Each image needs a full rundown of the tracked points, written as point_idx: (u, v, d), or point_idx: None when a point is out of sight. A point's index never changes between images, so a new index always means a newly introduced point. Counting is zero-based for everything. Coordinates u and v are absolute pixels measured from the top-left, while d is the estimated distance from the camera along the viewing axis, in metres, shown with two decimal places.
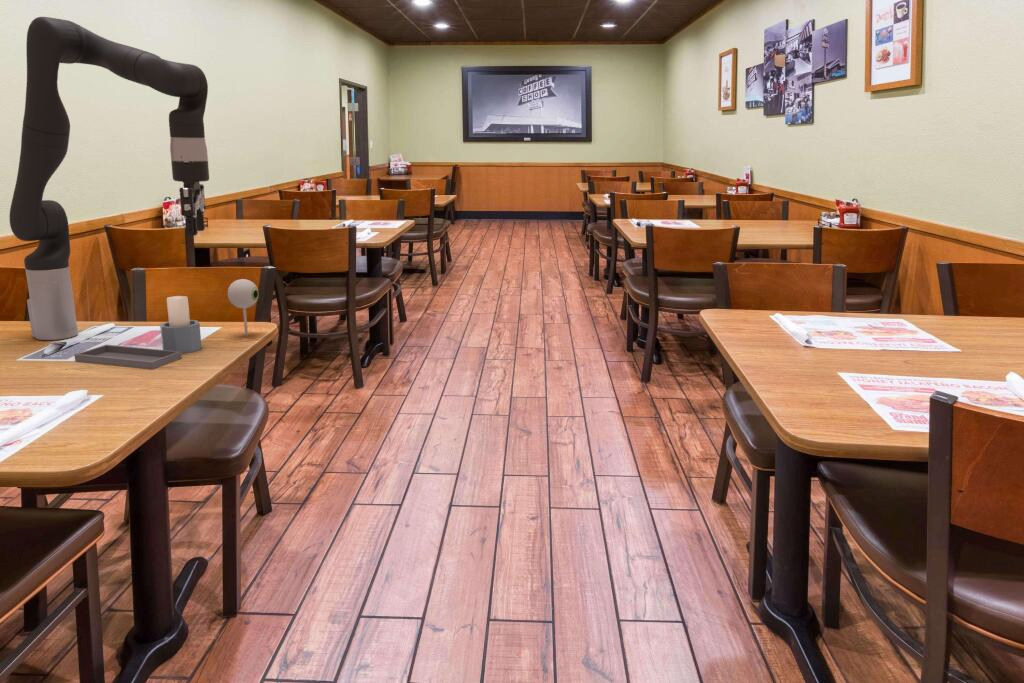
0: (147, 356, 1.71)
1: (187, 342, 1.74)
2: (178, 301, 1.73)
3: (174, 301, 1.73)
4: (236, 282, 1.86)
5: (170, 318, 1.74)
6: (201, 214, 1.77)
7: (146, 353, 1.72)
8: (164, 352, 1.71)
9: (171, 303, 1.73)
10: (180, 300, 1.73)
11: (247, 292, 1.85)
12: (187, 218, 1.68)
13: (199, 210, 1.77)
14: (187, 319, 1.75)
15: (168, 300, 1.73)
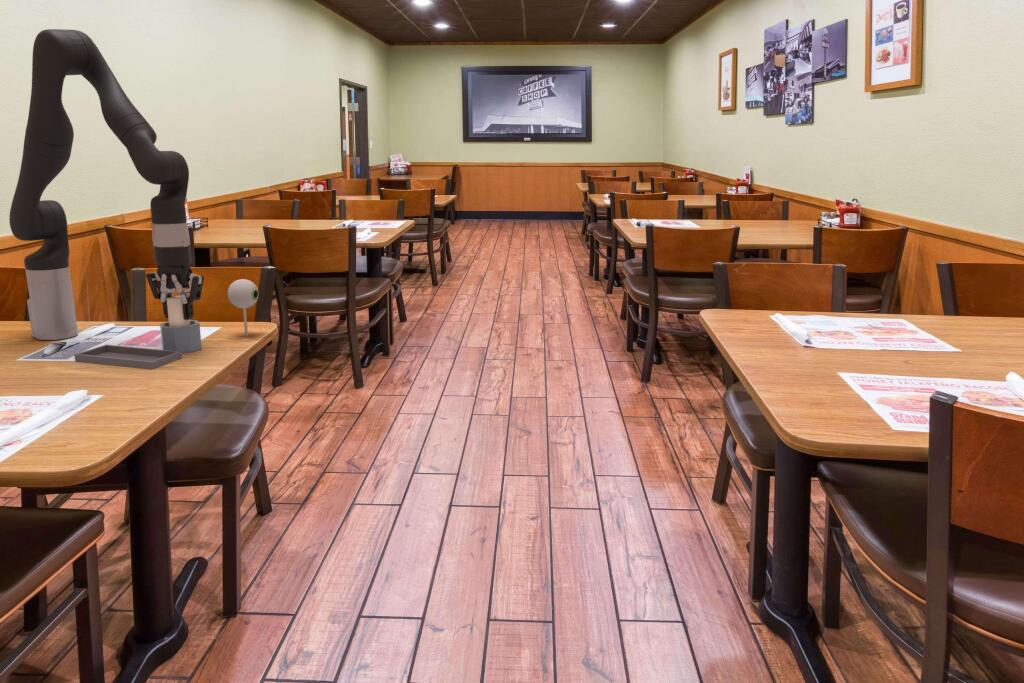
0: (147, 356, 1.71)
1: (187, 342, 1.74)
2: (178, 301, 1.73)
3: (174, 301, 1.73)
4: (236, 282, 1.86)
5: (170, 318, 1.74)
6: None
7: (146, 353, 1.72)
8: (164, 352, 1.71)
9: (171, 303, 1.73)
10: (180, 300, 1.73)
11: (247, 292, 1.85)
12: (189, 303, 1.74)
13: None
14: None
15: (168, 300, 1.73)
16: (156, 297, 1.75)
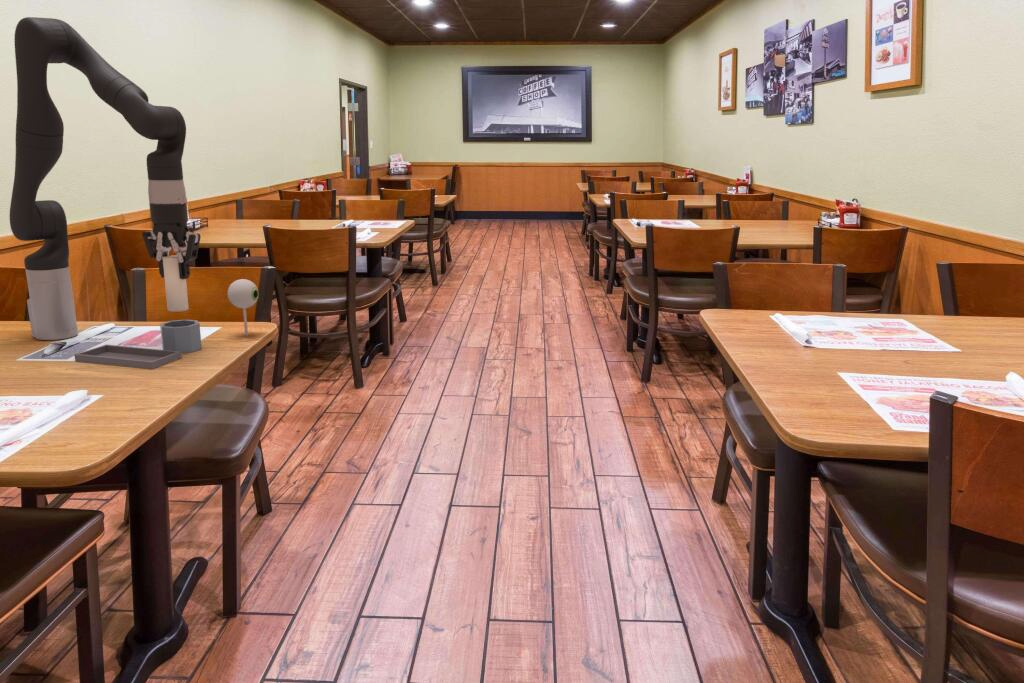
0: (147, 356, 1.71)
1: (187, 342, 1.74)
2: (174, 260, 1.71)
3: (170, 260, 1.71)
4: (236, 282, 1.86)
5: (166, 277, 1.72)
6: None
7: (146, 353, 1.72)
8: (164, 352, 1.71)
9: (167, 262, 1.71)
10: (176, 259, 1.71)
11: (247, 292, 1.85)
12: (186, 262, 1.71)
13: None
14: None
15: (164, 259, 1.71)
16: (152, 256, 1.73)
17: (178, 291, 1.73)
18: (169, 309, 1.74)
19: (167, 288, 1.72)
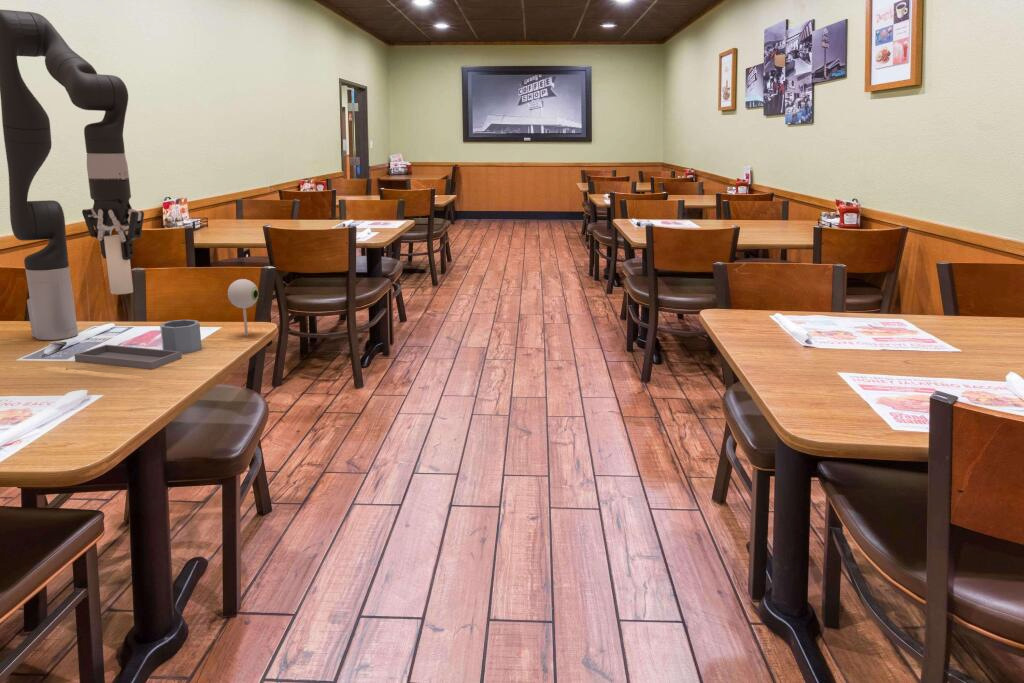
0: (147, 356, 1.71)
1: (187, 342, 1.74)
2: (116, 239, 1.61)
3: (111, 239, 1.60)
4: (236, 282, 1.86)
5: (108, 258, 1.62)
6: None
7: (146, 353, 1.72)
8: (164, 352, 1.71)
9: (108, 241, 1.60)
10: (118, 238, 1.61)
11: (247, 292, 1.85)
12: (128, 241, 1.61)
13: None
14: None
15: (105, 238, 1.61)
16: (93, 235, 1.62)
17: (121, 272, 1.62)
18: (112, 292, 1.63)
19: (109, 269, 1.62)
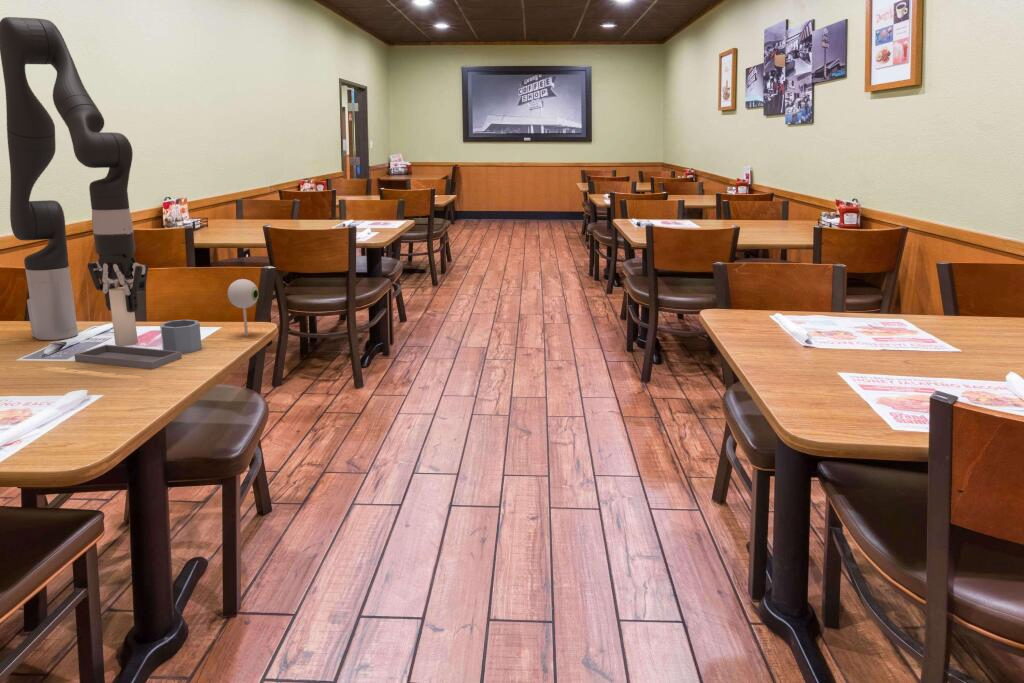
0: (147, 356, 1.71)
1: (187, 342, 1.74)
2: (121, 292, 1.63)
3: (116, 292, 1.63)
4: (236, 282, 1.86)
5: (112, 310, 1.64)
6: None
7: (146, 353, 1.72)
8: (164, 352, 1.71)
9: (113, 294, 1.63)
10: (123, 291, 1.63)
11: (247, 292, 1.85)
12: (133, 294, 1.64)
13: None
14: None
15: (110, 291, 1.63)
16: (98, 288, 1.65)
17: (126, 325, 1.65)
18: (116, 343, 1.66)
19: (114, 322, 1.65)
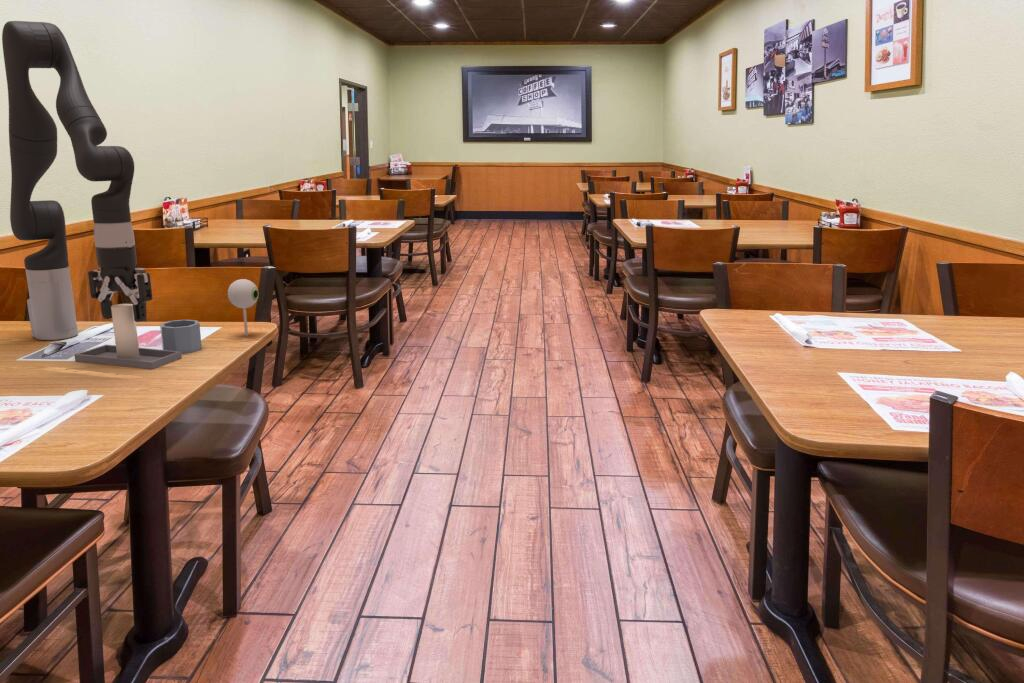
0: (147, 356, 1.71)
1: (187, 342, 1.74)
2: (123, 309, 1.64)
3: (119, 309, 1.64)
4: (236, 282, 1.86)
5: (115, 327, 1.65)
6: (109, 300, 1.67)
7: (146, 353, 1.72)
8: (164, 352, 1.71)
9: (115, 311, 1.64)
10: (125, 308, 1.64)
11: (247, 292, 1.85)
12: (140, 304, 1.64)
13: (107, 297, 1.67)
14: (133, 328, 1.66)
15: (112, 308, 1.64)
16: (93, 297, 1.66)
17: (128, 341, 1.66)
18: None
19: (116, 338, 1.66)
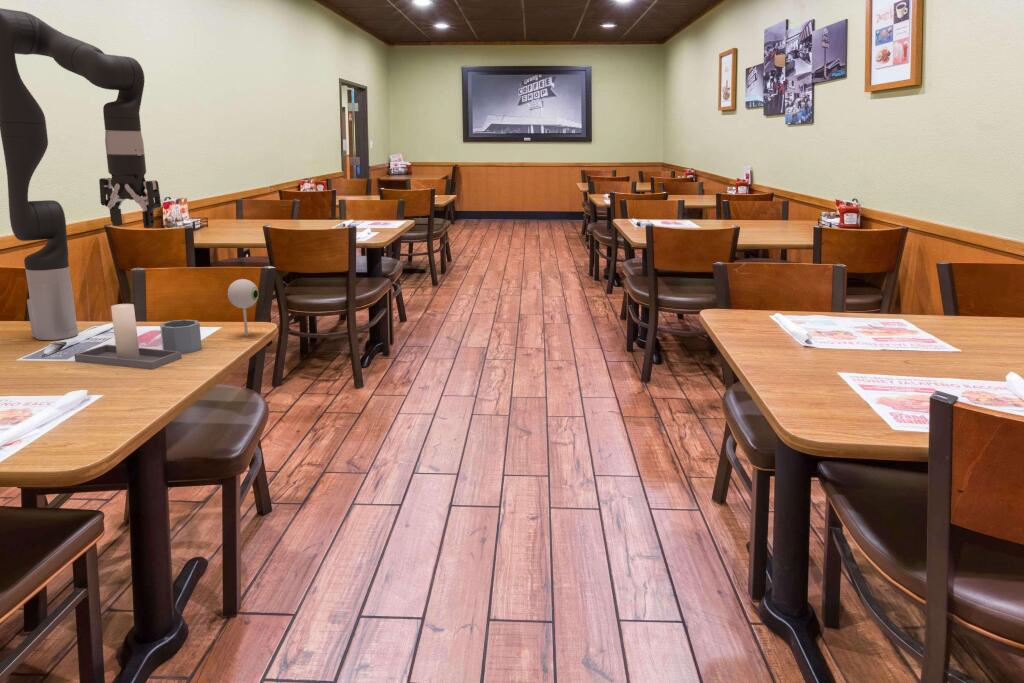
0: (147, 356, 1.71)
1: (187, 342, 1.74)
2: (123, 309, 1.64)
3: (119, 309, 1.64)
4: (236, 282, 1.86)
5: (115, 327, 1.65)
6: (118, 208, 1.74)
7: (146, 353, 1.72)
8: (164, 352, 1.71)
9: (115, 311, 1.64)
10: (125, 308, 1.64)
11: (247, 292, 1.85)
12: (150, 211, 1.70)
13: (116, 204, 1.73)
14: (133, 328, 1.66)
15: (112, 308, 1.64)
16: (103, 204, 1.72)
17: (128, 341, 1.66)
18: None
19: (116, 338, 1.66)
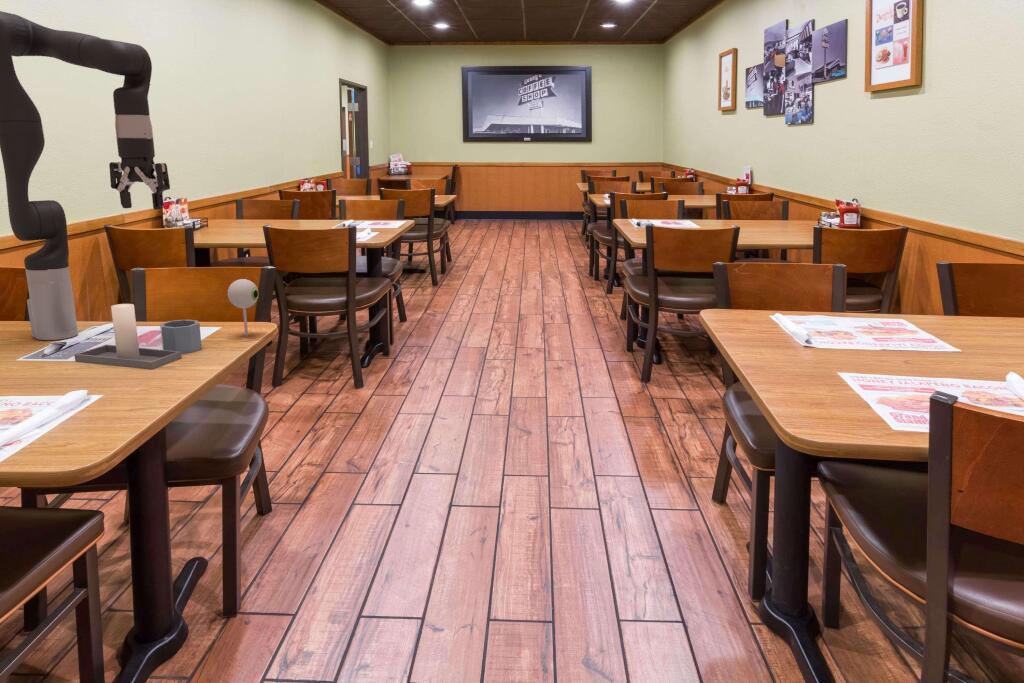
0: (147, 356, 1.71)
1: (187, 342, 1.74)
2: (123, 309, 1.64)
3: (119, 309, 1.64)
4: (236, 282, 1.86)
5: (115, 327, 1.65)
6: None
7: (146, 353, 1.72)
8: (164, 352, 1.71)
9: (116, 311, 1.64)
10: (125, 308, 1.64)
11: (247, 292, 1.85)
12: (159, 192, 1.76)
13: (126, 187, 1.79)
14: (133, 328, 1.66)
15: (112, 308, 1.64)
16: (113, 187, 1.78)
17: (128, 341, 1.66)
18: None
19: (116, 338, 1.66)
